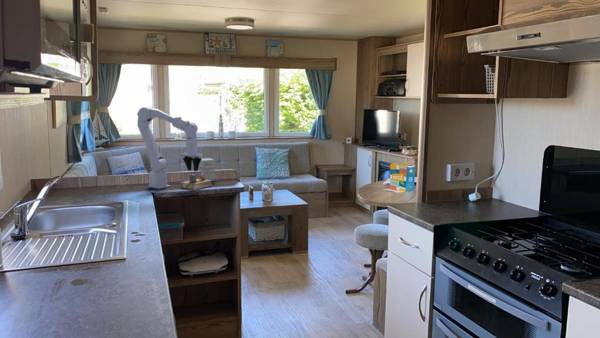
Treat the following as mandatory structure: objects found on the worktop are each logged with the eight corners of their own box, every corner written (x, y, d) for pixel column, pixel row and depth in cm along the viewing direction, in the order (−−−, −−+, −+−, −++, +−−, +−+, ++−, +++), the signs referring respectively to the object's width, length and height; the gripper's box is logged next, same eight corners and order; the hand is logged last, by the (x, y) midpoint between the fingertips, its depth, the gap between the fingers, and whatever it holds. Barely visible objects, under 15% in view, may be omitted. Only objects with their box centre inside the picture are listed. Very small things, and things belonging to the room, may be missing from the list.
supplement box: (199, 179, 282) (198, 158, 280) (211, 178, 285) (210, 157, 283) (203, 181, 275) (202, 160, 273) (215, 180, 279) (214, 159, 277)
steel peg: (188, 187, 259) (187, 175, 258) (193, 186, 262) (192, 174, 261) (193, 188, 257) (192, 175, 256) (198, 187, 260) (197, 174, 259)
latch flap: (197, 175, 264) (197, 174, 264) (201, 179, 266) (201, 178, 267) (201, 176, 262) (202, 175, 262) (205, 179, 265) (205, 178, 265)
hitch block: (181, 187, 259) (181, 182, 258) (198, 183, 270) (198, 178, 269) (195, 189, 253) (194, 184, 253) (211, 185, 264) (211, 180, 264)
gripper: (176, 145, 256) (177, 170, 258) (196, 147, 249) (197, 172, 251) (185, 144, 262) (187, 168, 264) (205, 145, 255) (206, 170, 257)
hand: (192, 170), depth 258 cm, fingers open, 4 cm apart
